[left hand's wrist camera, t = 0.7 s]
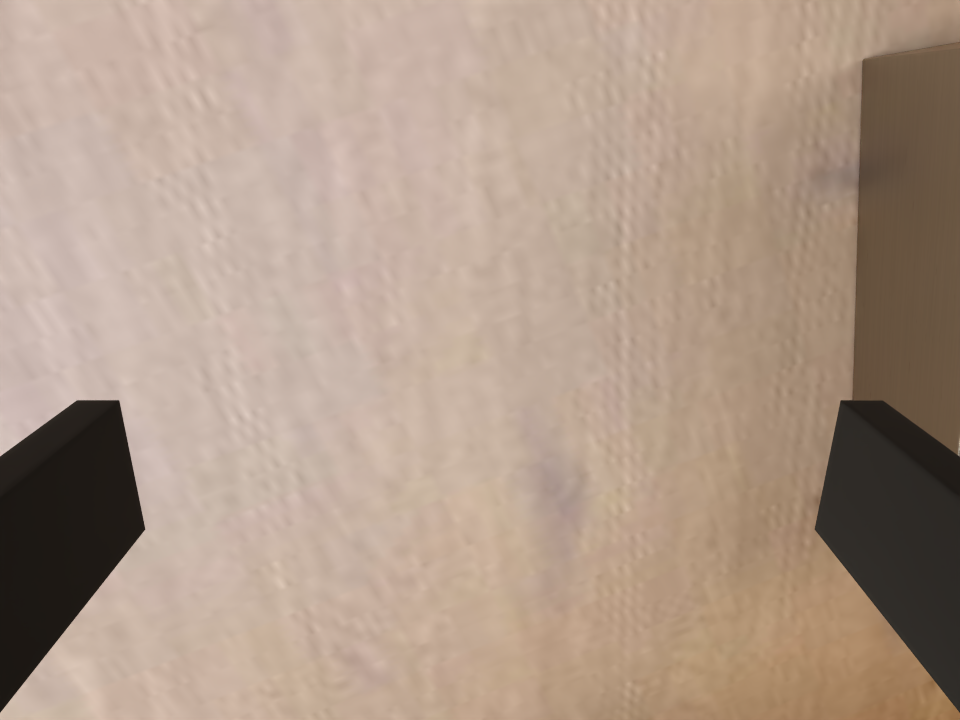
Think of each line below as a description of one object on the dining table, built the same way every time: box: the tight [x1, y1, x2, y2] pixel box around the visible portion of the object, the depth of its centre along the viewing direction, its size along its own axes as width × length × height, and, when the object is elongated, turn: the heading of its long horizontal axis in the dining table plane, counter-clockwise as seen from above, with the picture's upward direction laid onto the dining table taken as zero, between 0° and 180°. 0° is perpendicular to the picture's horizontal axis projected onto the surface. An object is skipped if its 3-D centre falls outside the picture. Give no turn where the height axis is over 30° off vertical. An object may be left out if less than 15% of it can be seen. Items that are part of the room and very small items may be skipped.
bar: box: [853, 42, 960, 456], centre depth 33 cm, size 26×5×9 cm, turn 9°
